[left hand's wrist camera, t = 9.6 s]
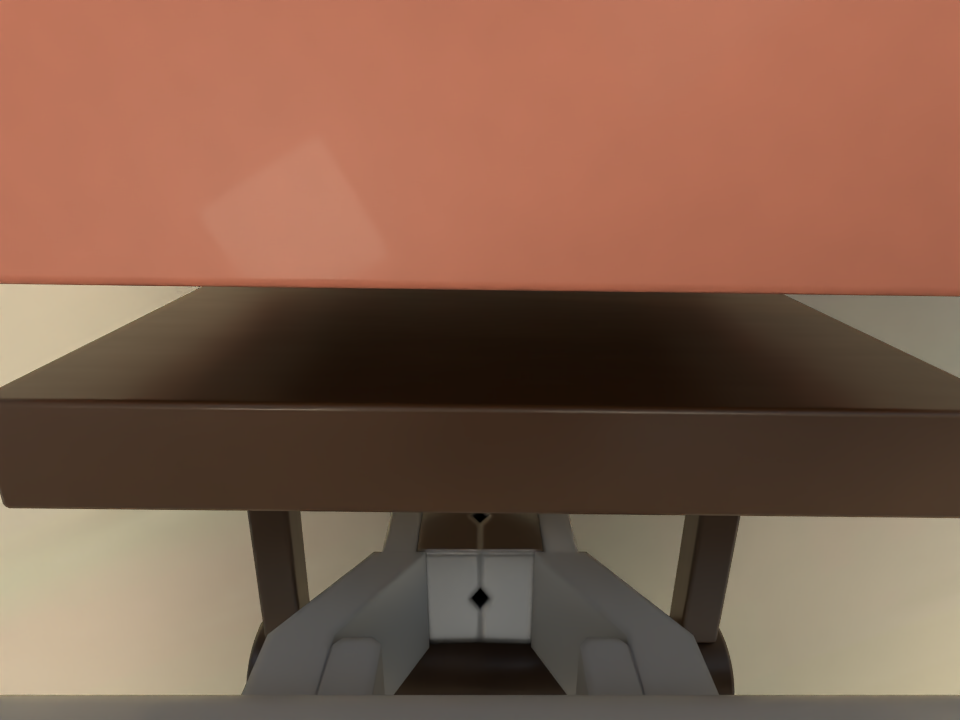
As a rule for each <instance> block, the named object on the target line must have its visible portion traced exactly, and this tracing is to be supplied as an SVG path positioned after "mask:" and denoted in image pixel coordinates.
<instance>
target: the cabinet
mask: <svg viewBox="0 0 960 720" xmlns="http://www.w3.org/2000/svg"><path fill="white" fill-rule="evenodd" d="M0 284H56V285H132V286H207V287H283V288H358V289H434V290H509V291H585V292H660V293H736V294H811V295H887V296H960V0H0Z"/></svg>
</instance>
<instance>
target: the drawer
mask: <svg viewBox="0 0 960 720" xmlns="http://www.w3.org/2000/svg"><path fill="white" fill-rule="evenodd" d="M0 495H1V498H2V501H3V504H4V505H5V506H6V507H8V508H48V509H144V510H240V511H247V512H248V519H249V526H250V533H251V540H252V547H253V555H254V562H255V569H256V576H257V583H258V590H259V598H260V605H261V612H262V619H263V622H262V623H261V625H260V627H259V629H258V632H257V634H256V637H255V640H254V643H253V646H252V650H251V654H250V659H249V665H248V672H247V681H248V678H249V676H250V674H251V671H252V669H253V667H254V665H255V662H256V660H257V658H258V655H259V653H260V651H261V649H262V646H263V644H264V642H265V639H266V637H267V635H268V634H269V633H270V632H272V631H273V630H274V629H275V628H277V627H278V626H279V625H281V624H282V623H283V622H284V621H286V620H287V619H288V618H290V617H291V616H292V615H293V614H295V613H296V612H297V611H299V610H300V609H301V608H302V607H304V606H305V605H306V604H308V603H309V602H310V601H309V591H308V581H307V572H306V562H305V553H304V543H303V534H302V524H301V514H300V511H336V512H431V513H527V514H623V515H685V521H684V527H683V534H682V540H681V547H680V553H679V560H678V566H677V573H676V579H675V585H674V592H673V598H672V605H671V611H670V616H669V617H670V618H672V619H673V620H674V621H676V622H677V623H678V624H679V625H681V626H682V627H683V628H685V629H686V630H687V631H688V632H690V633H691V634H692V635H694V638H695V640H696V642H697V645H698V647H699V649H700V652H701V654H702V656H703V659H704V661H705V663H706V666H707V668H708V670H709V673H710V675H711V677H712V679H713V682H714V684H715V686H716V689H717V691H718V693H719V695H734V678H733V670H732V664H731V660H730V656H729V652H728V648H727V645H726V642H725V640H724V637H723V635H722V633H721V631H720V629H719V624H720V619H721V614H722V609H723V604H724V598H725V593H726V588H727V583H728V578H729V572H730V567H731V562H732V557H733V552H734V546H735V541H736V536H737V531H738V526H739V520H740V516H815V517H910V518H960V378H958V377H956V376H954V375H952V374H950V373H947V372H945V371H943V370H941V369H939V368H937V367H935V366H933V365H931V364H929V363H926V362H924V361H922V360H920V359H918V358H916V357H914V356H912V355H910V354H907V353H905V352H903V351H901V350H899V349H897V348H895V347H893V346H891V345H889V344H886V343H884V342H882V341H880V340H878V339H876V338H874V337H872V336H870V335H868V334H865V333H863V332H861V331H859V330H857V329H855V328H853V327H851V326H849V325H847V324H844V323H842V322H840V321H838V320H836V319H834V318H832V317H830V316H828V315H826V314H823V313H821V312H819V311H817V310H815V309H813V308H811V307H809V306H807V305H805V304H802V303H800V302H798V301H796V300H794V299H792V298H790V297H788V296H786V295H783V294H736V293H660V292H585V291H509V290H434V289H358V288H283V287H207V286H203V287H201V288H199V289H197V290H195V291H193V292H191V293H189V294H187V295H185V296H183V297H181V298H179V299H177V300H175V301H173V302H171V303H169V304H167V305H165V306H163V307H161V308H159V309H157V310H155V311H153V312H151V313H149V314H147V315H145V316H143V317H141V318H139V319H137V320H135V321H133V322H131V323H129V324H127V325H125V326H123V327H121V328H119V329H117V330H115V331H113V332H111V333H109V334H107V335H105V336H103V337H101V338H99V339H97V340H95V341H93V342H91V343H89V344H87V345H84V346H82V347H80V348H78V349H76V350H74V351H72V352H70V353H68V354H66V355H64V356H62V357H60V358H58V359H56V360H54V361H52V362H50V363H48V364H46V365H44V366H42V367H40V368H38V369H36V370H34V371H32V372H30V373H28V374H26V375H24V376H22V377H20V378H18V379H16V380H14V381H12V382H10V383H8V384H6V385H4V386H2V387H0ZM394 695H567V694H566V693H565V691H564V690H563V689H562V687H561V686H560V685H559V683H558V682H557V681H556V679H555V678H554V677H553V675H552V674H551V673H550V671H549V670H548V669H547V667H546V666H545V665H544V663H543V662H542V661H541V659H540V658H539V657H538V655H537V654H536V653H535V651H534V650H533V649H532V647H531V644H500V643H459V644H429V648H428V650H427V651H426V652H425V654H424V655H423V656H422V658H421V659H420V660H419V662H418V663H417V664H416V666H415V667H414V668H413V670H412V671H411V672H410V674H409V675H408V676H407V678H406V679H405V680H404V682H403V683H402V684H401V686H400V687H399V688H398V690H397V691H396V692H395V694H394Z"/></svg>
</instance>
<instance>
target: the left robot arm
mask: <svg viewBox="0 0 960 720" xmlns="http://www.w3.org/2000/svg"><path fill="white" fill-rule="evenodd" d="M459 643H500V644H531V647H532V649H533V650H534V651H535V653H536V654H537V655H538V657H539V658H540V659H541V661H542V662H543V663H544V665H545V666H546V667H547V669H548V670H549V671H550V673H551V674H552V675H553V677H554V678H555V679H556V681H557V682H558V683H559V685H560V686H561V687H562V689H563V690H564V691H565V693H566V694H567V695H394V694H395V692H396V691H397V690H398V688H399V687H400V686H401V684H402V683H403V682H404V680H405V679H406V678H407V676H408V675H409V674H410V672H411V671H412V670H413V668H414V667H415V666H416V664H417V663H418V662H419V660H420V659H421V658H422V656H423V655H424V654H425V652H426V651H427V650H428V648H429V644H459ZM0 720H960V695H719V693H718V691H717V689H716V686H715V684H714V682H713V679H712V677H711V675H710V673H709V670H708V668H707V666H706V663H705V661H704V659H703V656H702V654H701V652H700V649H699V647H698V645H697V642H696V640H695V638H694V635H692V634H691V633H690V632H688V631H687V630H686V629H685V628H683V627H682V626H681V625H679V624H678V623H677V622H676V621H674V620H673V619H672V618H670V617H669V616H668V615H667V614H665V613H664V612H663V611H661V610H660V609H659V608H658V607H656V606H655V605H654V604H653V603H651V602H650V601H649V600H647V599H646V598H645V597H644V596H642V595H641V594H640V593H638V592H637V591H636V590H635V589H633V588H632V587H631V586H629V585H628V584H627V583H626V582H624V581H623V580H622V579H620V578H619V577H618V576H617V575H615V574H614V573H613V572H611V571H610V570H609V569H608V568H606V567H605V566H604V565H603V564H601V563H600V562H599V561H597V560H596V559H595V558H594V557H592V556H591V555H590V554H588V553H587V552H578V549H577V545H576V541H575V537H574V533H573V529H572V524H571V520H570V516H569V514H527V513H431V512H392V513H391V517H390V521H389V525H388V530H387V534H386V538H385V542H384V546H383V550H382V552H373V553H372V554H371V555H369V556H368V557H367V558H366V559H364V560H363V561H362V562H360V563H359V564H358V565H357V566H355V567H354V568H353V569H351V570H350V571H349V572H348V573H346V574H345V575H344V576H342V577H341V578H340V579H339V580H337V581H336V582H335V583H333V584H332V585H331V586H329V587H328V588H327V589H326V590H324V591H323V592H322V593H320V594H319V595H318V596H317V597H315V598H314V599H313V600H311V601H310V602H309V603H308V604H306V605H305V606H304V607H302V608H301V609H300V610H299V611H297V612H296V613H295V614H293V615H292V616H291V617H290V618H288V619H287V620H286V621H284V622H283V623H282V624H281V625H279V626H278V627H277V628H275V629H274V630H273V631H272V632H270V633H269V634H268V635H267V637H266V639H265V642H264V644H263V646H262V649H261V651H260V653H259V655H258V658H257V660H256V662H255V665H254V667H253V669H252V671H251V674H250V676H249V678H248V681H247V683H246V685H245V688H244V690H243V692H242V694H241V695H0Z"/></svg>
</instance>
